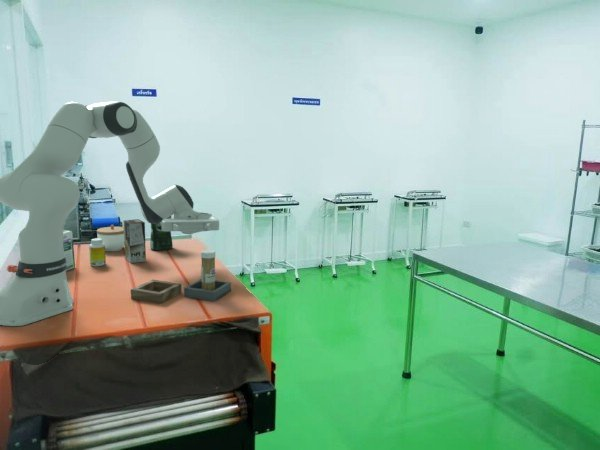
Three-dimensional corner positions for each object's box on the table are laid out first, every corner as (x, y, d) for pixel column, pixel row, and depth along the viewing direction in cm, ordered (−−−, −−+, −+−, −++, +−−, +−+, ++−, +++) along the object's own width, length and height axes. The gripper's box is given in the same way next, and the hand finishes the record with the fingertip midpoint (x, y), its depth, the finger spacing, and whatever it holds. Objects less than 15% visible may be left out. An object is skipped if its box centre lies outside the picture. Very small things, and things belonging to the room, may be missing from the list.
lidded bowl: (94, 253, 194) (92, 227, 191) (102, 246, 206) (100, 222, 204) (125, 252, 196) (123, 227, 193) (131, 245, 208) (130, 222, 206)
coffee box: (146, 261, 183) (145, 222, 180) (130, 263, 180) (128, 223, 176) (140, 256, 190) (139, 218, 187) (124, 258, 187) (122, 219, 184)
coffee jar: (170, 245, 210) (169, 206, 206) (174, 249, 203) (173, 209, 200) (148, 247, 205) (147, 207, 202) (151, 251, 199) (150, 210, 195)
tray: (214, 301, 141) (214, 292, 140) (184, 296, 144) (183, 287, 144) (231, 290, 151) (231, 282, 150) (202, 286, 154) (202, 278, 154)
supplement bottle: (107, 265, 176) (106, 239, 174) (92, 267, 173) (91, 241, 171) (103, 262, 180) (102, 237, 178) (88, 264, 177) (87, 238, 175)
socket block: (160, 303, 138) (160, 294, 137) (131, 298, 141) (130, 289, 141) (181, 292, 148) (181, 283, 147) (153, 288, 151) (152, 279, 151)
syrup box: (65, 272, 166) (62, 233, 163) (51, 270, 167) (48, 232, 164) (75, 267, 171) (73, 230, 169) (61, 266, 173) (59, 229, 170)
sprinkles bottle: (211, 293, 145) (211, 253, 143) (198, 292, 146) (198, 252, 144) (217, 289, 149) (217, 250, 147) (205, 288, 151) (204, 248, 148)
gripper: (159, 214, 164) (161, 219, 151) (215, 213, 171) (222, 219, 158) (159, 231, 165) (161, 238, 152) (215, 229, 172) (222, 236, 159)
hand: (193, 228), depth 155 cm, fingers open, 8 cm apart
